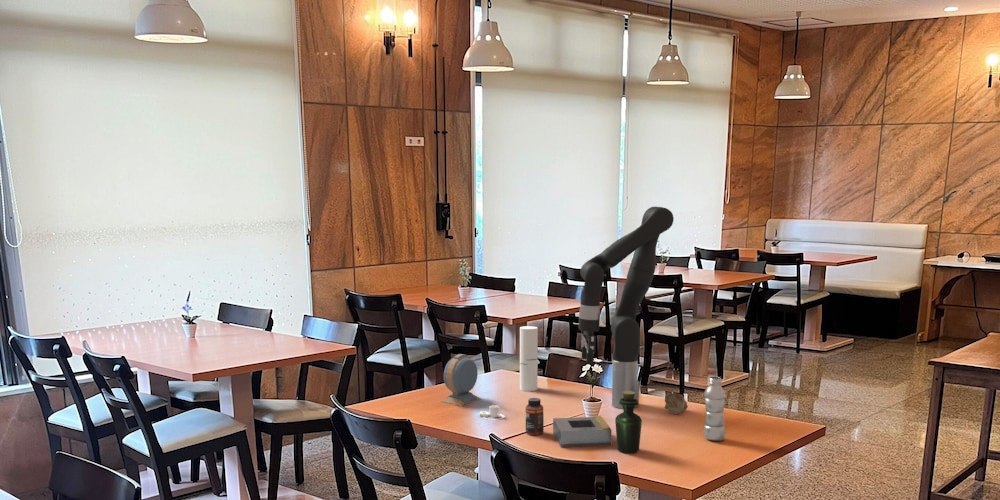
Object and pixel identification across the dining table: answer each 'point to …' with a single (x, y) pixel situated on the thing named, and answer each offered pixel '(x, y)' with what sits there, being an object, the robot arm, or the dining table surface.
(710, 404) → the plastic bottle
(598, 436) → the jig
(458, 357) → the alarm clock
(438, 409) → the dining table surface
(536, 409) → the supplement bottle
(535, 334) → the cylindrical container
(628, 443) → the potion bottle
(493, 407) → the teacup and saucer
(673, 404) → the grey brown rock
